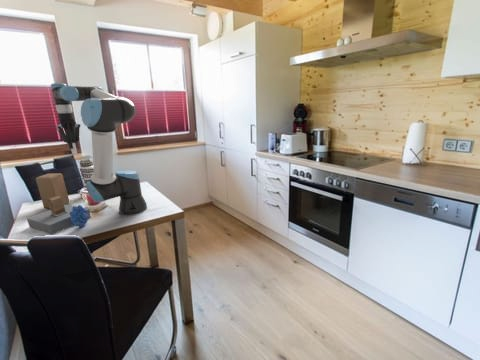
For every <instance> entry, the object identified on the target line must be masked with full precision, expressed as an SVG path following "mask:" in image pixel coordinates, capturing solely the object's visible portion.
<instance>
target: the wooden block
mask: <svg viewBox="0 0 480 360" xmlns="http://www.w3.org/2000/svg"><path fill="white" fill-rule="evenodd" d="M35 181H36V185H37V188H38V193H39V195H40V198H41V203H42V205H43V206H42V207H43V208H44V209H50V206H49V202H48V199H49V198H52V197H55V196H59V197H62V200H63V203H64V205H66V204H67V205H69V203H70V199H69V194H68V190H67V188H66V183H65V180H64V175H63V174H62V173H60V172H59V173H57V172H55V173H53V172H52V173H46V174H43V175H40V176H37V177H36V178H35Z"/></svg>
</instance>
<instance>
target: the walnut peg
mask: <svg viewBox="0 0 480 360" xmlns="http://www.w3.org/2000/svg"><path fill="white" fill-rule="evenodd" d="M48 202H49V206H50V208H49V209H50V210H51V213H52V216H55V217H58V216H60V215H63V214H65V213H66V211H65V207H64V203H63V200H62V197H59V196H55V197H52V198H49V199H48Z"/></svg>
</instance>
